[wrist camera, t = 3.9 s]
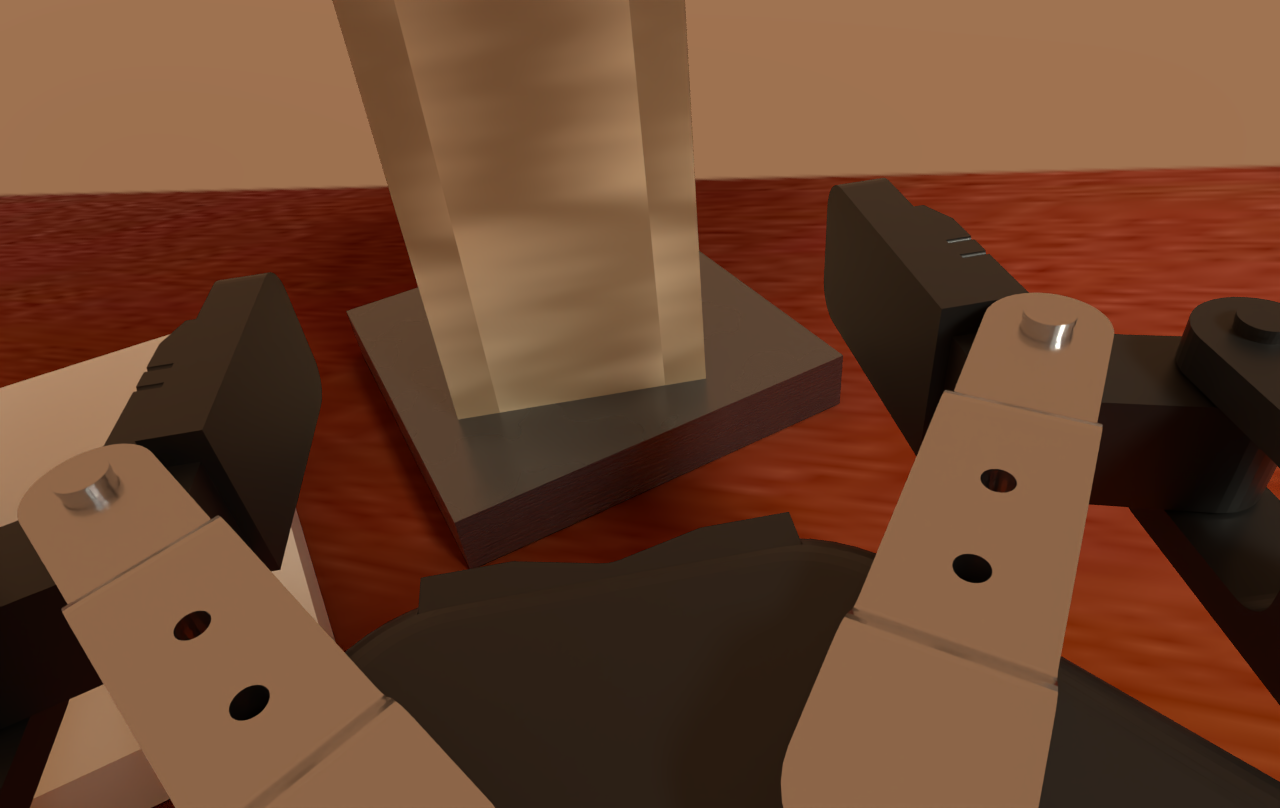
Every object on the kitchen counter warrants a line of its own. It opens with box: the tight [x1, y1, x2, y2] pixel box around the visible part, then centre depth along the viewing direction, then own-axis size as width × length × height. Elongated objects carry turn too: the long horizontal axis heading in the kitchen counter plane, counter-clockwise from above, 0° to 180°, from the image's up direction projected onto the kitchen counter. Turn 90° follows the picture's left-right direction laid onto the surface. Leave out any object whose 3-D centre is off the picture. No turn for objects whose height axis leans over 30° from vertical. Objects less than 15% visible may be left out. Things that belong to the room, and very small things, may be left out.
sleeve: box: [332, 0, 706, 419], centre depth 19 cm, size 6×6×10 cm
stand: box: [346, 251, 843, 569], centre depth 20 cm, size 10×10×10 cm
